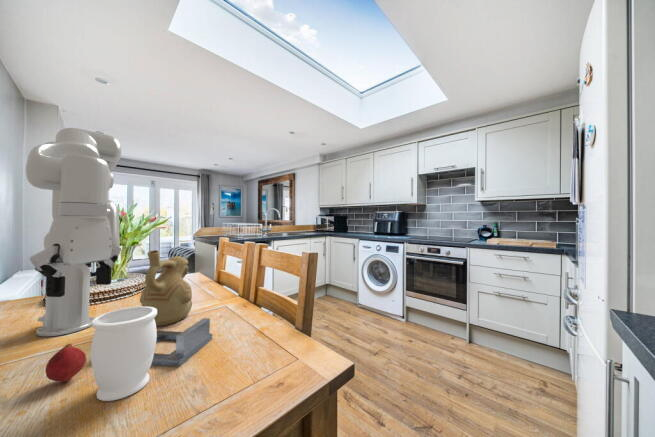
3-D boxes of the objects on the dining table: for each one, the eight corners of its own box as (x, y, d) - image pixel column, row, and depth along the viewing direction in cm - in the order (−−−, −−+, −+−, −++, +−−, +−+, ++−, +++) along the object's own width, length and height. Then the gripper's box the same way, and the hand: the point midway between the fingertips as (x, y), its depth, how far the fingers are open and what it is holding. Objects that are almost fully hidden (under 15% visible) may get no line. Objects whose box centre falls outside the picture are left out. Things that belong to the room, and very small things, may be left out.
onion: (58, 393, 48) (59, 352, 48) (37, 388, 49) (38, 349, 49) (92, 375, 53) (93, 338, 54) (72, 371, 55) (73, 336, 55)
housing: (94, 361, 59) (95, 334, 59) (142, 334, 73) (143, 313, 73) (179, 366, 57) (180, 339, 57) (212, 338, 71) (212, 316, 71)
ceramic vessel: (203, 309, 94) (204, 245, 95) (172, 332, 75) (174, 251, 75) (159, 309, 94) (161, 245, 94) (116, 332, 74) (119, 251, 75)
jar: (117, 372, 55) (120, 305, 55) (165, 370, 55) (167, 305, 56) (72, 408, 44) (75, 325, 44) (132, 405, 45) (135, 324, 45)
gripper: (106, 213, 62) (104, 280, 62) (16, 209, 45) (12, 302, 44) (134, 214, 62) (132, 281, 61) (53, 209, 44) (49, 303, 44)
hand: (81, 289), depth 53 cm, fingers open, 9 cm apart
